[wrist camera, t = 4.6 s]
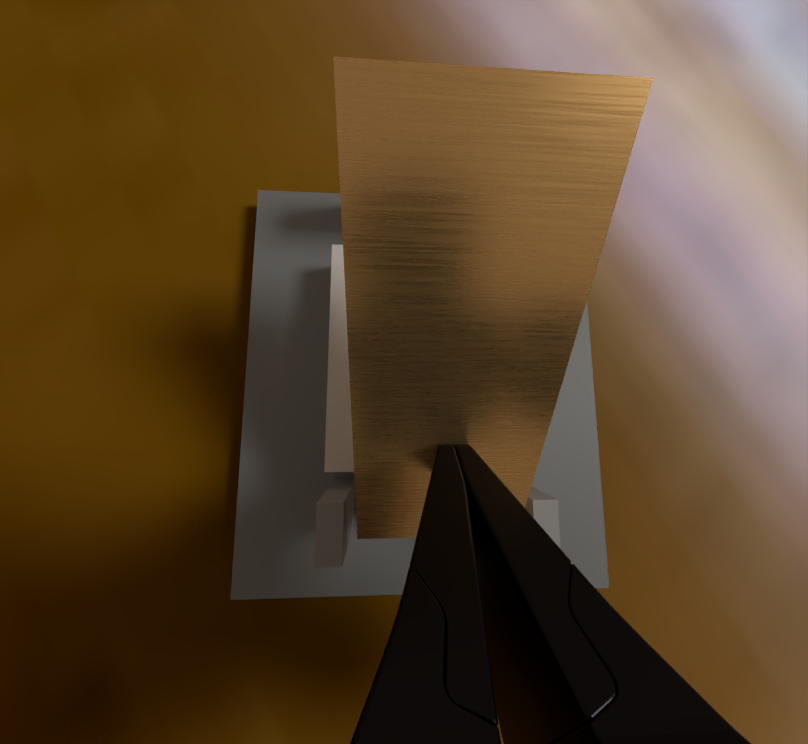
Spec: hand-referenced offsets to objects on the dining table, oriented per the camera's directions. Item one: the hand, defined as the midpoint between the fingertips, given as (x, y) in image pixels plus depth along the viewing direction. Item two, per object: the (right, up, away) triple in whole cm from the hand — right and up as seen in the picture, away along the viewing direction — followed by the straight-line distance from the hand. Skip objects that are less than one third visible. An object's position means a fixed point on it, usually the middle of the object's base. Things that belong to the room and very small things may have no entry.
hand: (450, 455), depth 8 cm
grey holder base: (0, +2, +6) cm, 6 cm away
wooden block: (0, -3, +2) cm, 3 cm away
